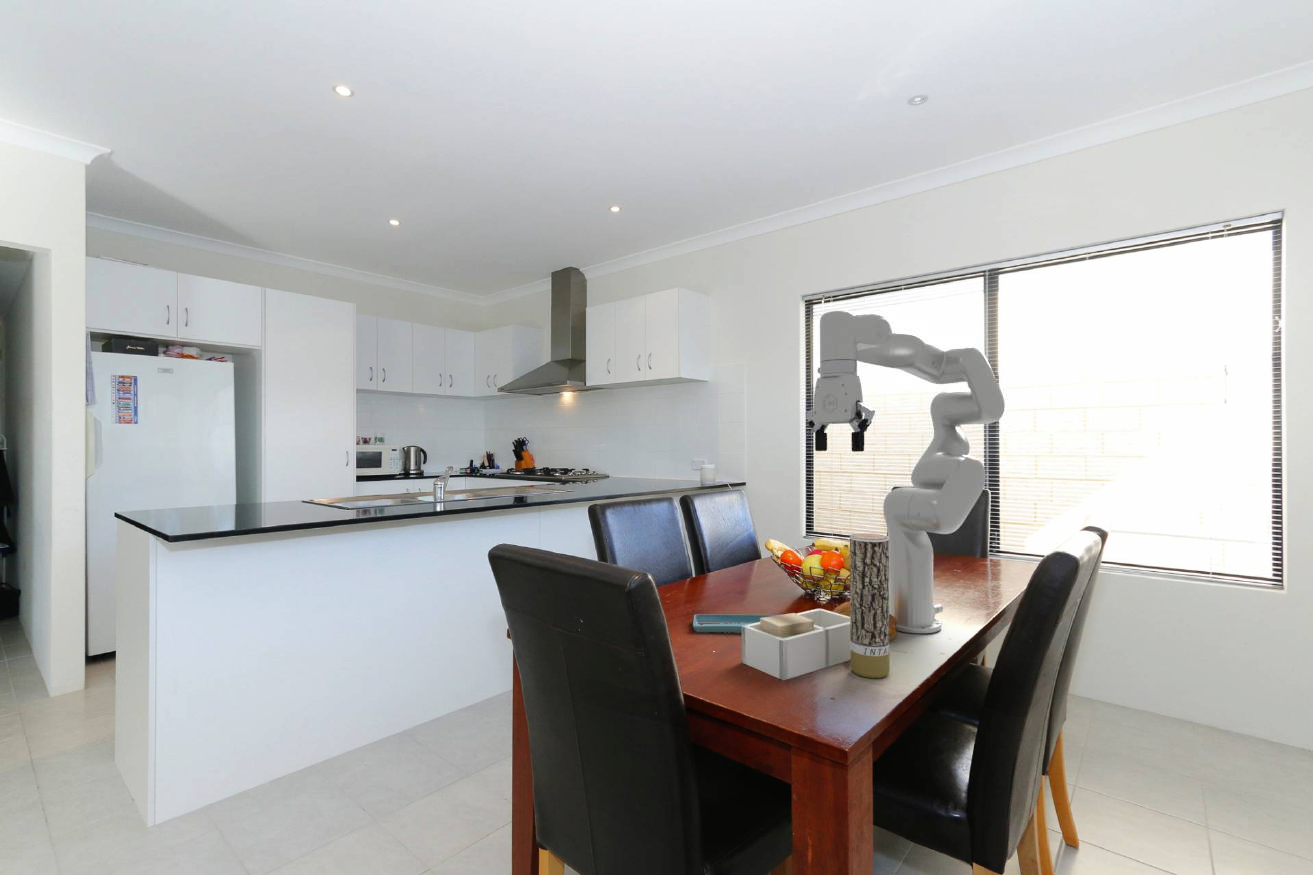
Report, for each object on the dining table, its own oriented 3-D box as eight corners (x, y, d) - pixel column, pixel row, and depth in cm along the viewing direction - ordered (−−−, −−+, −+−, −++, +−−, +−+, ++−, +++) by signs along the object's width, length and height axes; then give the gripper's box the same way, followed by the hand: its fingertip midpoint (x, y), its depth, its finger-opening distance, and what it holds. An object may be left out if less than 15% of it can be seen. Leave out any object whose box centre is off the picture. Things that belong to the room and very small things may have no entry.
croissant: (820, 648, 136) (817, 612, 135) (841, 620, 148) (839, 588, 148) (889, 658, 128) (887, 621, 127) (906, 628, 140) (903, 594, 140)
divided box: (819, 641, 133) (819, 608, 133) (863, 655, 124) (862, 620, 124) (741, 662, 121) (741, 625, 121) (783, 680, 112) (783, 640, 112)
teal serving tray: (692, 635, 139) (692, 623, 139) (694, 623, 148) (694, 612, 148) (812, 637, 137) (812, 626, 137) (806, 625, 146) (806, 614, 146)
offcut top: (793, 628, 124) (793, 612, 124) (813, 636, 118) (813, 620, 118) (760, 633, 120) (760, 618, 120) (779, 642, 115) (779, 626, 115)
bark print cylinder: (842, 669, 117) (841, 534, 117) (870, 663, 120) (869, 532, 120) (869, 682, 110) (868, 540, 111) (898, 675, 113) (897, 537, 113)
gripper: (795, 373, 138) (796, 451, 138) (860, 365, 124) (861, 452, 124) (818, 375, 142) (819, 450, 142) (884, 367, 128) (885, 451, 128)
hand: (838, 451), depth 133 cm, fingers open, 9 cm apart
